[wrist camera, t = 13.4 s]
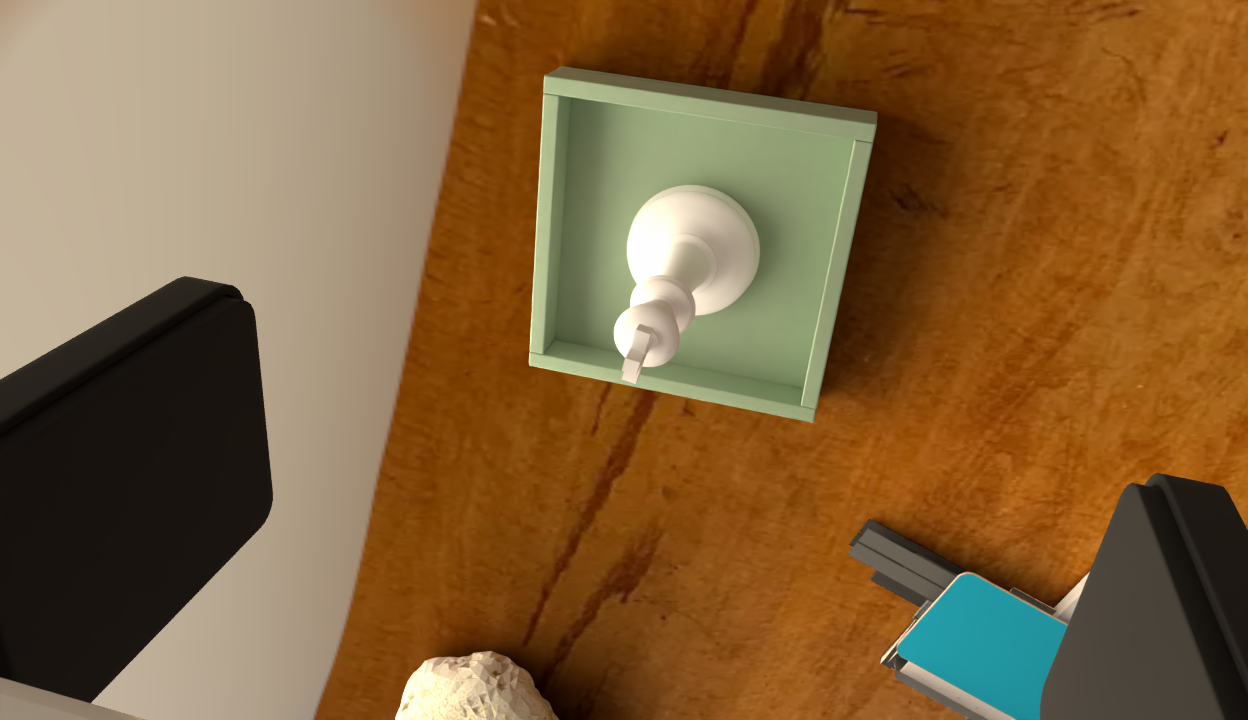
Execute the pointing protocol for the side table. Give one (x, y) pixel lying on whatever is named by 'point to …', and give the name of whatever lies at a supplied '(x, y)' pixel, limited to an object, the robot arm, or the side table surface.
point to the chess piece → (682, 269)
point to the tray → (713, 157)
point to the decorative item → (473, 691)
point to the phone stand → (965, 630)
